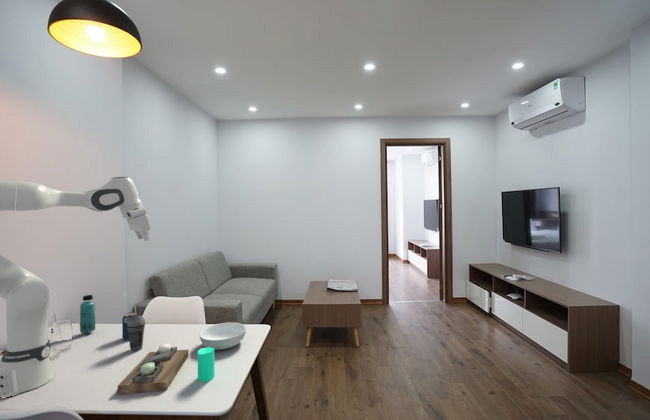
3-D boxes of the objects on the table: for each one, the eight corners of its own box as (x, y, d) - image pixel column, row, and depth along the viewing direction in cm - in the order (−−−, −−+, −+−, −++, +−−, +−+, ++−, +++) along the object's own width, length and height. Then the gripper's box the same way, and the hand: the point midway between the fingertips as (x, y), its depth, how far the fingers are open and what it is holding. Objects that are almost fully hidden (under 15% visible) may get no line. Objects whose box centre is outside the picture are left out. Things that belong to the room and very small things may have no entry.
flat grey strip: (141, 367, 115) (140, 364, 115) (146, 361, 119) (145, 358, 119) (167, 358, 116) (166, 355, 116) (171, 353, 120) (171, 350, 120)
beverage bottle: (84, 331, 158) (84, 294, 158) (98, 330, 160) (98, 293, 160) (76, 336, 152) (76, 297, 152) (91, 335, 153) (91, 296, 153)
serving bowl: (219, 333, 155) (219, 320, 155) (254, 338, 149) (254, 325, 149) (189, 351, 136) (189, 336, 136) (227, 358, 129) (227, 342, 129)
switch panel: (117, 394, 104) (117, 380, 104) (149, 359, 129) (149, 347, 129) (166, 390, 106) (166, 376, 106) (188, 356, 131) (188, 345, 131)
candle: (215, 379, 113) (215, 347, 113) (198, 383, 110) (198, 351, 110) (213, 371, 118) (212, 341, 118) (196, 375, 115) (196, 345, 115)
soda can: (131, 341, 146) (131, 316, 146) (118, 340, 147) (118, 316, 147) (142, 335, 153) (142, 312, 153) (130, 334, 154) (130, 311, 154)
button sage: (138, 375, 107) (138, 369, 107) (144, 369, 111) (144, 362, 111) (151, 374, 108) (151, 368, 108) (156, 368, 112) (156, 361, 112)
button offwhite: (157, 354, 123) (157, 348, 123) (161, 349, 127) (161, 343, 127) (168, 353, 124) (168, 347, 124) (172, 348, 128) (172, 343, 128)
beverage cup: (130, 354, 133) (130, 309, 133) (124, 350, 137) (124, 306, 137) (148, 348, 138) (148, 305, 138) (141, 344, 143) (141, 302, 143)
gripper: (119, 213, 140) (130, 240, 143) (131, 214, 126) (143, 244, 129) (134, 208, 144) (144, 235, 148) (147, 209, 130) (158, 238, 134)
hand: (144, 239), depth 138 cm, fingers open, 8 cm apart
